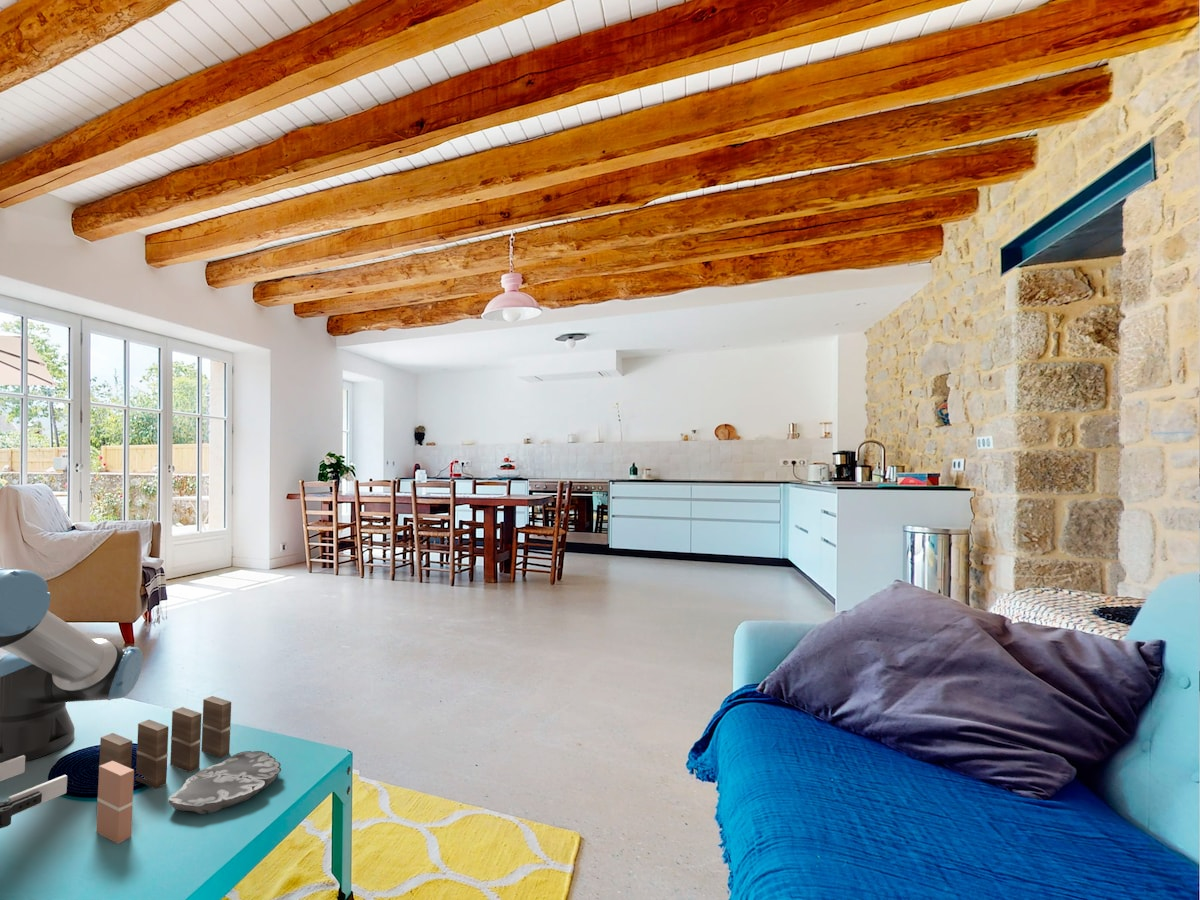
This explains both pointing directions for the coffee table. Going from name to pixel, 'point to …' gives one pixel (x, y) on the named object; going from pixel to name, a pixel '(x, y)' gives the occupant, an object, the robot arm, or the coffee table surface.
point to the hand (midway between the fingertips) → (44, 773)
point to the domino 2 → (115, 801)
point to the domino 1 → (115, 750)
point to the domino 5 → (216, 726)
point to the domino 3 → (152, 753)
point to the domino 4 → (185, 739)
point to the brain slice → (226, 782)
